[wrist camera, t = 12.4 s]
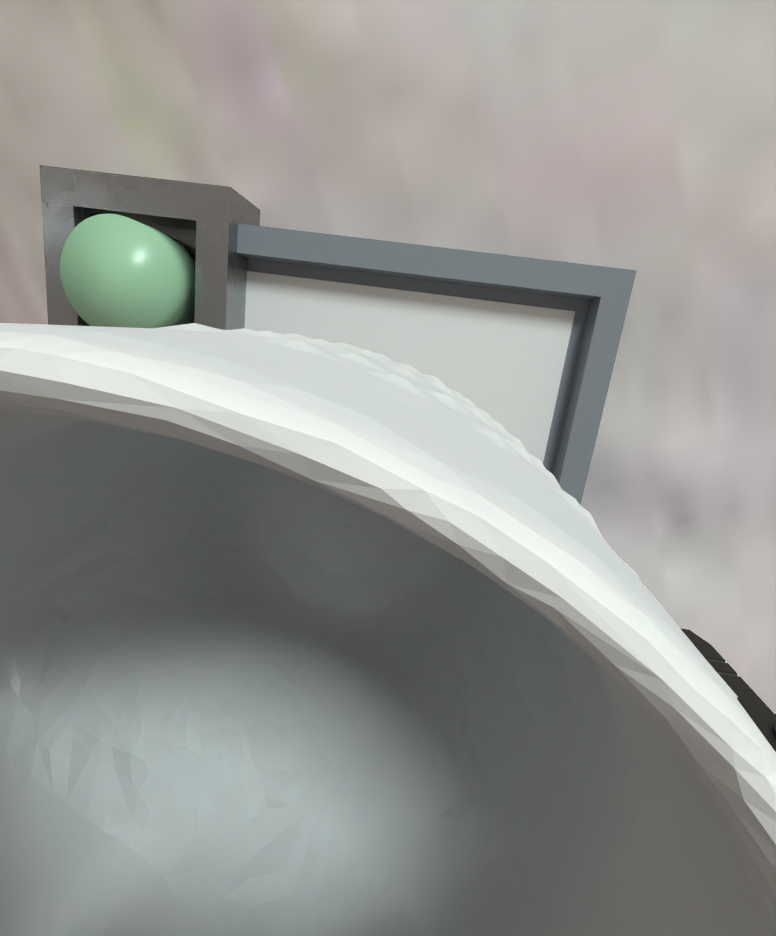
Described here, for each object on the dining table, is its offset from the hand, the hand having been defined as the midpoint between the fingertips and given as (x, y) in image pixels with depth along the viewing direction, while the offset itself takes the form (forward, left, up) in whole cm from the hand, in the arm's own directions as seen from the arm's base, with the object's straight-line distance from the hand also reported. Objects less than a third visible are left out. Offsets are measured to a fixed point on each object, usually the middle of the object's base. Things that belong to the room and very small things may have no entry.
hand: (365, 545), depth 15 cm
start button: (-10, +7, -6) cm, 14 cm away
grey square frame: (-10, +7, -8) cm, 14 cm away
